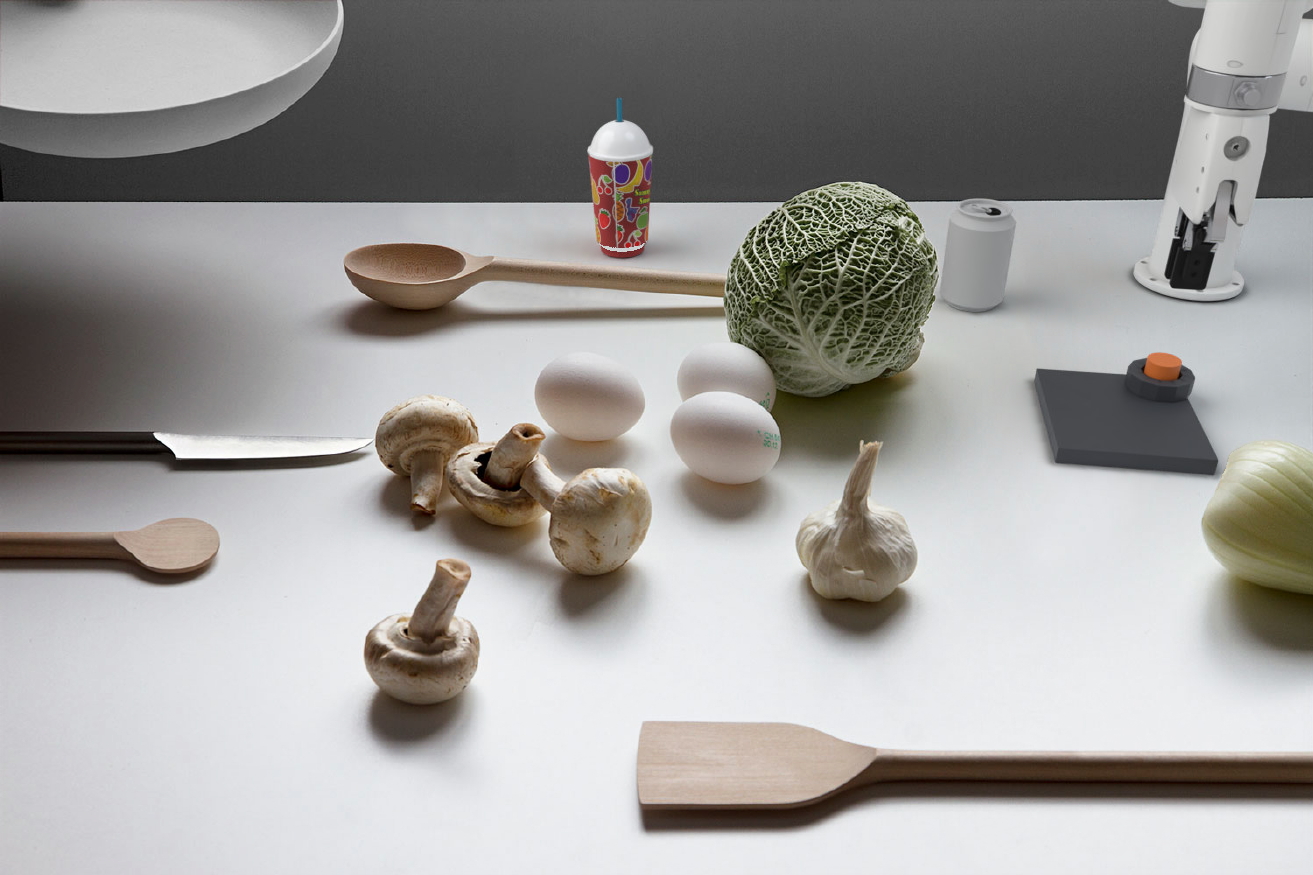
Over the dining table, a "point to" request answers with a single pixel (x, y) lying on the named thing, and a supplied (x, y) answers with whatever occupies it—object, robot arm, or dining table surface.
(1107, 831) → the dining table surface
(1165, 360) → the tare button
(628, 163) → the smoothie
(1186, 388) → the grey flat slab
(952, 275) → the can
